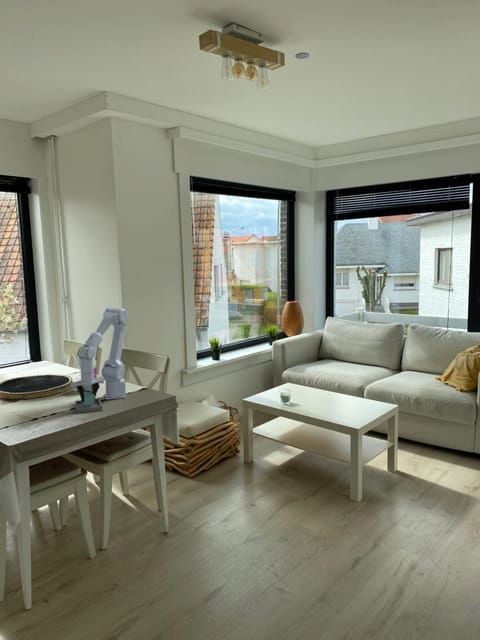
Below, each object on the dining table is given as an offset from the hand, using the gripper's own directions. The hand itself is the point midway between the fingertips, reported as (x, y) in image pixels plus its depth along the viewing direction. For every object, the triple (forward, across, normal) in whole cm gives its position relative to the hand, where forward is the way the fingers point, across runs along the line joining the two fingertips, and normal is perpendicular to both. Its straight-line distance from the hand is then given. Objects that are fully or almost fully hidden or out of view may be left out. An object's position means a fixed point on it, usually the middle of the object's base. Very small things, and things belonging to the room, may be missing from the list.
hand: (88, 400), depth 224 cm
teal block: (+1, 0, 0) cm, 1 cm away
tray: (+4, 0, 0) cm, 4 cm away
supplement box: (+4, -8, -24) cm, 26 cm away
